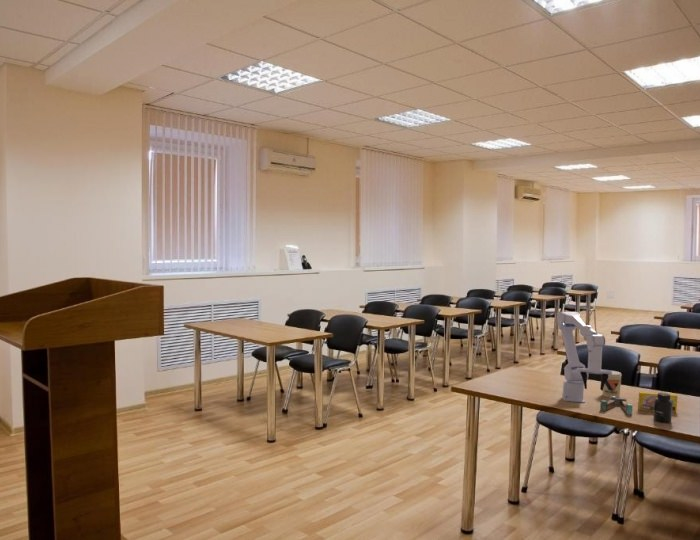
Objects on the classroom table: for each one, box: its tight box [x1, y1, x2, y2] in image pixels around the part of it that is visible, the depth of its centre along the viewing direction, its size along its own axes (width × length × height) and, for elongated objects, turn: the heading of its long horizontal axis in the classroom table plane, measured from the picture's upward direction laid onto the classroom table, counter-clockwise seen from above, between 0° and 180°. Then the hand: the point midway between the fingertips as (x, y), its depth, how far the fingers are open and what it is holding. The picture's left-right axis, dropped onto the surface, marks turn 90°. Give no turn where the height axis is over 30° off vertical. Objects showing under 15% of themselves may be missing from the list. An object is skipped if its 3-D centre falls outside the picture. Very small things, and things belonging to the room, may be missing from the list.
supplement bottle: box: [653, 392, 673, 424], centre depth 236 cm, size 7×7×12 cm
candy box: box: [637, 391, 678, 413], centre depth 252 cm, size 16×2×8 cm, turn 80°
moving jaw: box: [599, 399, 616, 412], centre depth 254 cm, size 2×12×4 cm, turn 134°
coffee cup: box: [602, 370, 623, 398], centre depth 277 cm, size 9×9×12 cm
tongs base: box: [609, 396, 633, 416], centre depth 253 cm, size 7×17×4 cm, turn 164°
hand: (593, 389), depth 252 cm, fingers open, 6 cm apart
